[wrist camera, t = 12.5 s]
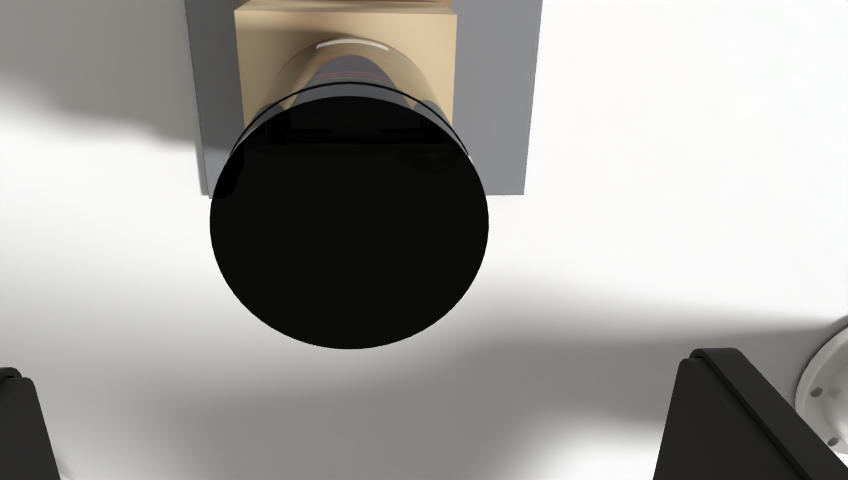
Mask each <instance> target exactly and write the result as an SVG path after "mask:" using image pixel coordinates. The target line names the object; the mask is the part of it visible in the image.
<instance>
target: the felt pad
mask: <svg viewBox="0 0 848 480" xmlns="http://www.w3.org/2000/svg"><path fill="white" fill-rule="evenodd" d="M542 1H543V0H451V10H452V11H453V12H454V13H456V14H457V30H456V51H455V73H454V94H453V116H452V128H453V129H454V131H455V132H456V133H457V134H458V136H459V138H460V139H461V141H462V142H463V144H464V146H465V147H466V150H467V152H468V154H469V156H470V158H471V160H472V163H473V165H474V167H475V169H476V171H477V173H478V175H479V177H480V180H481V183H482V186H483V189H484V192H485V195H524V186H525V175H526V165H527V155H528V145H529V134H530V124H531V114H532V104H533V93H534V83H535V73H536V63H537V52H538V42H539V32H540V22H541V11H542ZM241 6H242V5H241V0H185V7H186V16H187V24H188V32H189V40H190V48H191V56H192V64H193V72H194V80H195V88H196V96H197V104H198V113H199V121H200V129H201V137H202V145H203V153H204V161H205V169H206V177H207V185H208V193H209V199H212V197H213V192H214V189H215V186H216V183H217V180H218V178H219V176H220V174H221V171H222V169H223V167H224V165H225V163H226V162H227V159H228V157H229V155H230V153H231V151H232V148H233V146H234V145H235V143H236V142H237V140H238V138H239V137H240V135H241V133H242V132H243V131H244V130H245V125H244V114H243V103H242V92H241V81H240V71H239V60H238V49H237V38H236V27H235V17H234V10H236V9H237V8H239V7H241Z"/></svg>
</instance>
